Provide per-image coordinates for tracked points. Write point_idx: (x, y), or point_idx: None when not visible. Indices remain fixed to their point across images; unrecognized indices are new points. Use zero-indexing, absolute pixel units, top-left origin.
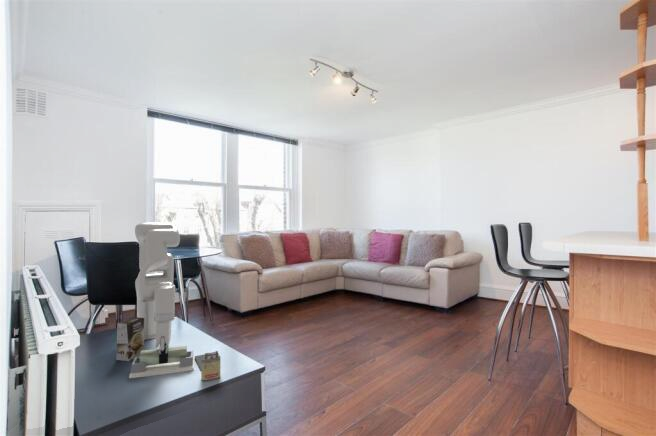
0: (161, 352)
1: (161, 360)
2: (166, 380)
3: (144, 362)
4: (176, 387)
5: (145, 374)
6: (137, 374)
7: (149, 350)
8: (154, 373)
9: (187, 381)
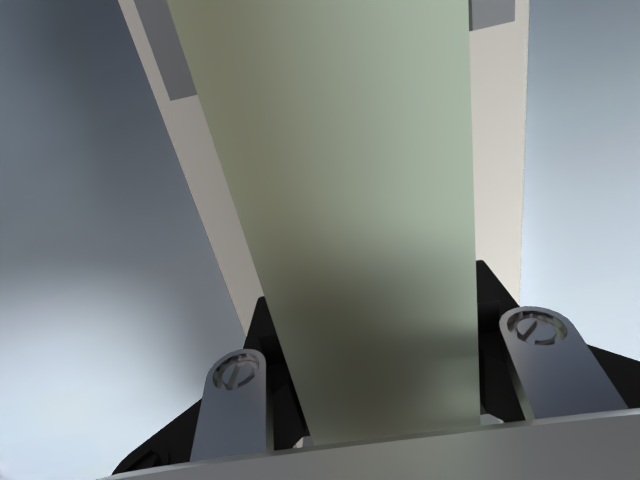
0: (171, 436)
1: (258, 309)
2: (118, 322)
3: (186, 75)
4: (32, 402)
5: (163, 113)
6: (133, 7)
7: (403, 114)
8: (199, 203)
9: (124, 439)
